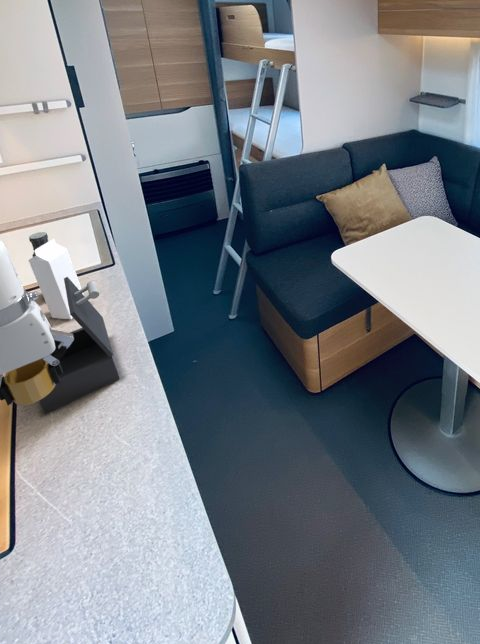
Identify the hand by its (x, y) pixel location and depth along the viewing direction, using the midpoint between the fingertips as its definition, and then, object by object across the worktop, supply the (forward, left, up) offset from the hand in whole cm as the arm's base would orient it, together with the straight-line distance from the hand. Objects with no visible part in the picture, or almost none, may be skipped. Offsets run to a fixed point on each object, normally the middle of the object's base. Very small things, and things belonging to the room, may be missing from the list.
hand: (34, 387), depth 74 cm
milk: (-10, +44, -15) cm, 47 cm away
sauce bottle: (-16, +55, -15) cm, 59 cm away
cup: (0, 0, -1) cm, 1 cm away
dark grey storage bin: (-1, +18, -14) cm, 23 cm away
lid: (+3, +19, -1) cm, 20 cm away
